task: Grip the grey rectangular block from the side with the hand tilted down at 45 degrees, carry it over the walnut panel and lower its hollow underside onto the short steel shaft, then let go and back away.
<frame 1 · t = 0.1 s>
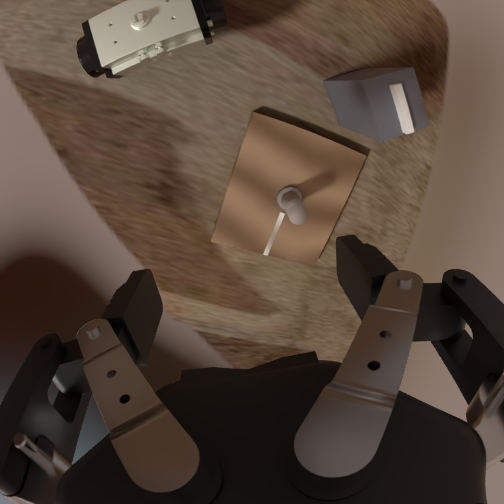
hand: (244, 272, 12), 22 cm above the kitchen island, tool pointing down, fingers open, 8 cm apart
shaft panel: (286, 193, 34), on the kitchen island
pneumatic valve: (168, 44, 24), on the kitchen island
grey rectangular block: (352, 96, 28), on the kitchen island
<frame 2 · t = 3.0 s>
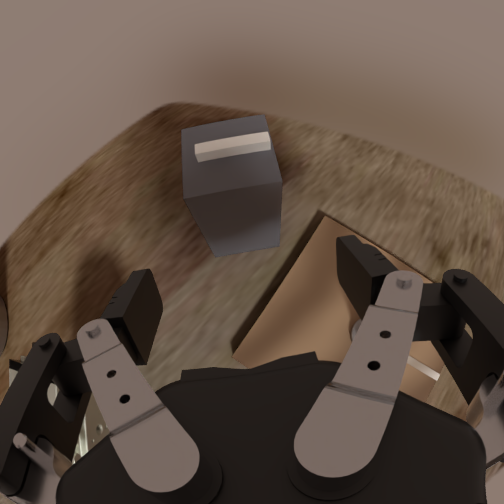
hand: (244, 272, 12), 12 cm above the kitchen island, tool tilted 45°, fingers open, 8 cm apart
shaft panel: (362, 335, 22), on the kitchen island
pneumatic valve: (120, 415, 21), on the kitchen island
grey rectangular block: (242, 222, 26), on the kitchen island
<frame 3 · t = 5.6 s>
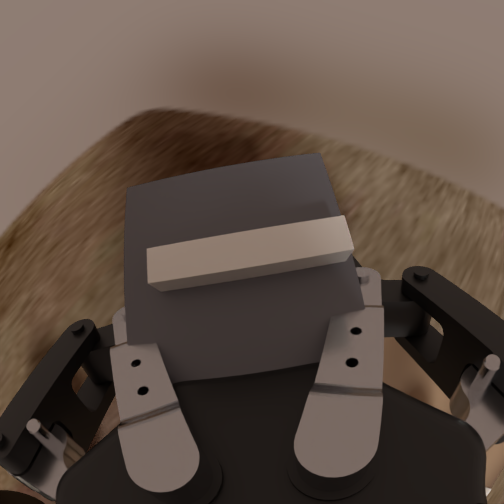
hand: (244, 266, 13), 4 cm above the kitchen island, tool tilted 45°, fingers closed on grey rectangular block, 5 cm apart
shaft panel: (415, 466, 12), on the kitchen island
grey rectangular block: (256, 318, 16), on the kitchen island, touching gripper
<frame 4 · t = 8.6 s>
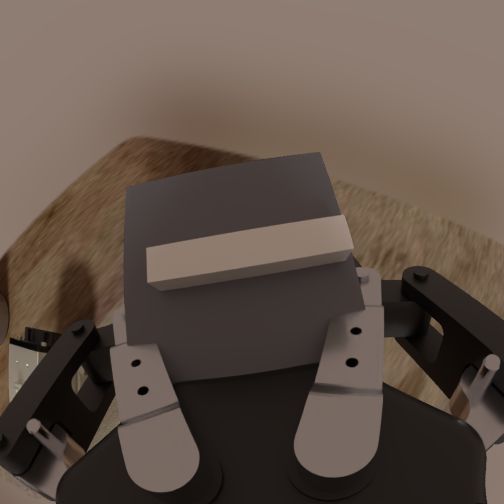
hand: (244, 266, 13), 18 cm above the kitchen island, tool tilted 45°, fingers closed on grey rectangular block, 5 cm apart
pneumatic valve: (87, 385, 28), on the kitchen island
grey rectangular block: (256, 318, 16), point 14 cm above the kitchen island, touching gripper
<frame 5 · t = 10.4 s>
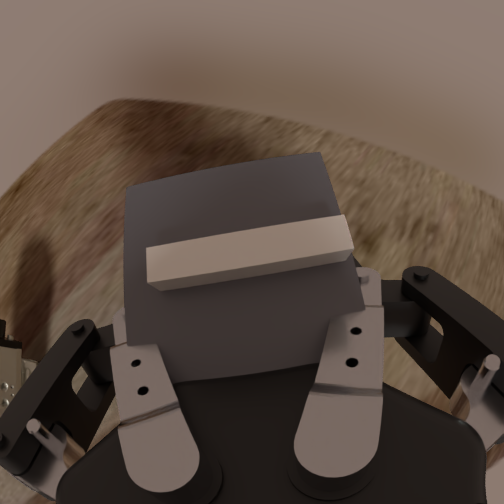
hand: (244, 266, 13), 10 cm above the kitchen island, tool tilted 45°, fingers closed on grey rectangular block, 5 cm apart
pneumatic valve: (43, 387, 21), on the kitchen island
grey rectangular block: (256, 318, 16), point 6 cm above the kitchen island, touching gripper
when the fingers open (6 cm above the kitchen island, at t = 11.8 s): grey rectangular block stays where it is, resting on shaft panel.
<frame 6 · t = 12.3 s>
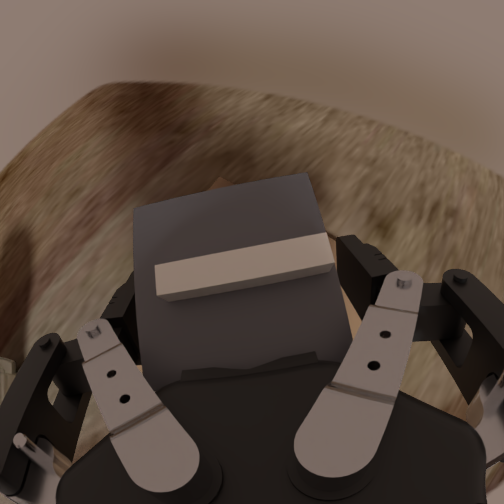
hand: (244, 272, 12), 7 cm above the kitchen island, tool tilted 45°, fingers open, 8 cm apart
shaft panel: (258, 323, 18), on the kitchen island
pneumatic valve: (21, 389, 17), on the kitchen island
grey rectangular block: (256, 321, 17), point 1 cm above the kitchen island, touching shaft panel
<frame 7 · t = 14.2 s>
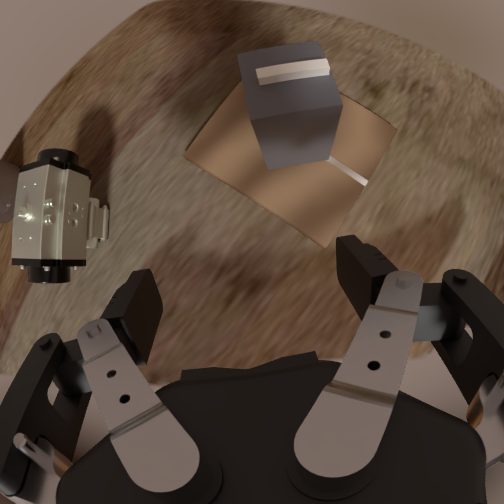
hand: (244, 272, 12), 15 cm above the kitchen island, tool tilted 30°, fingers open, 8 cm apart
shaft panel: (292, 141, 27), on the kitchen island
pneumatic valve: (101, 225, 30), on the kitchen island
grey rectangular block: (292, 137, 25), point 1 cm above the kitchen island, touching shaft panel
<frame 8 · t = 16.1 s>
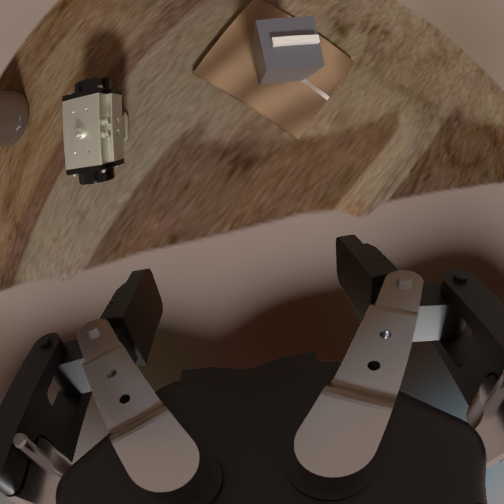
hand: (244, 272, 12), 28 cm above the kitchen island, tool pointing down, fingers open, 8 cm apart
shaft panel: (276, 64, 32), on the kitchen island
pneumatic valve: (121, 127, 34), on the kitchen island
grey rectangular block: (277, 62, 31), point 1 cm above the kitchen island, touching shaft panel
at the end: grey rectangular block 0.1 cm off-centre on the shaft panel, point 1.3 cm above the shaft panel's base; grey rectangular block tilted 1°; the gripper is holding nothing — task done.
